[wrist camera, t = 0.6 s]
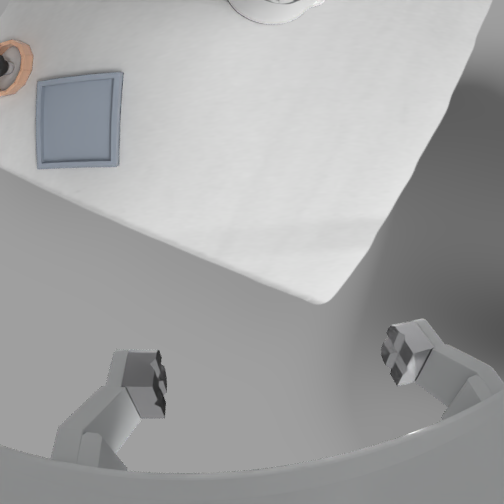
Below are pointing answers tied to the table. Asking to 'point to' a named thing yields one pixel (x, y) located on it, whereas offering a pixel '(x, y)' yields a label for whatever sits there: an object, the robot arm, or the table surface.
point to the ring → (25, 65)
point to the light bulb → (5, 66)
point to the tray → (79, 121)
